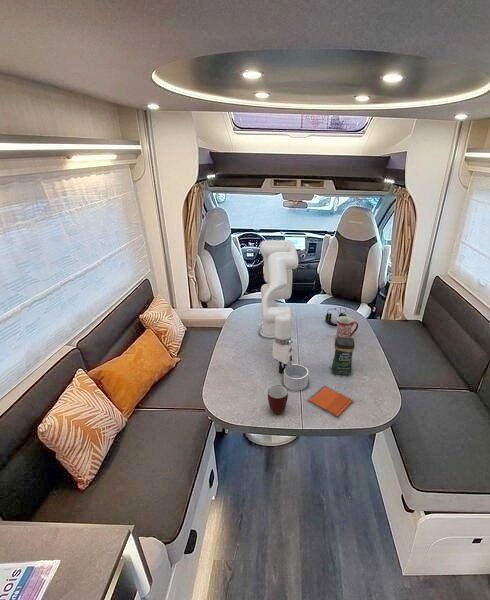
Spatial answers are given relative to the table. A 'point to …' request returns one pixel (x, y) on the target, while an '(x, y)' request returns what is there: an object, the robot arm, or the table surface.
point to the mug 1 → (277, 398)
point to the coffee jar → (343, 355)
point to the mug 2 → (345, 326)
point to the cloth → (331, 401)
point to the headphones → (328, 318)
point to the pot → (296, 377)
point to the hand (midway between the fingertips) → (282, 372)
